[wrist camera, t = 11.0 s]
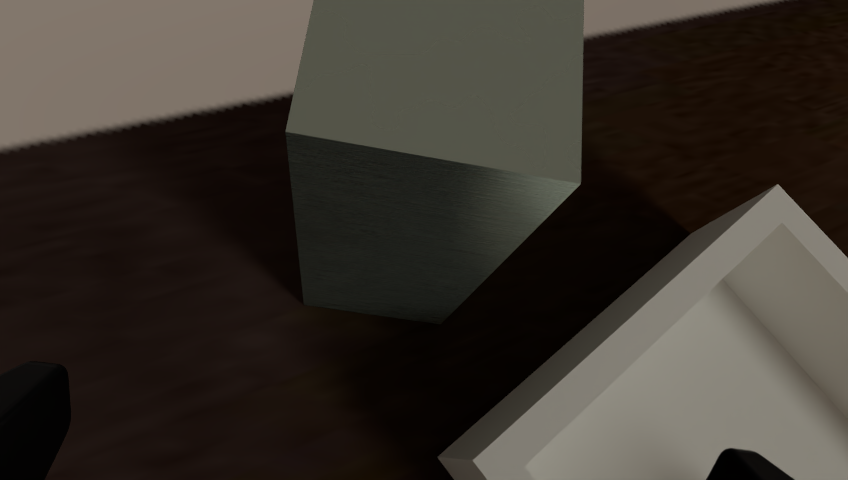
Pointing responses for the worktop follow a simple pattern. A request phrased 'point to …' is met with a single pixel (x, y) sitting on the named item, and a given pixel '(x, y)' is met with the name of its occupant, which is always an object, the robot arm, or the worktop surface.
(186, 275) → the worktop surface
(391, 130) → the sage tin
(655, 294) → the white tote
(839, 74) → the worktop surface
